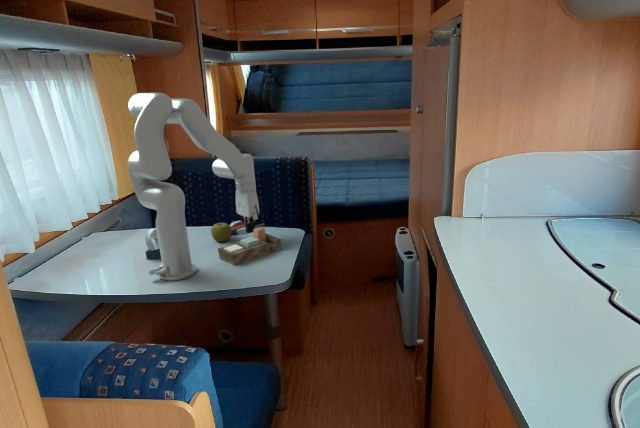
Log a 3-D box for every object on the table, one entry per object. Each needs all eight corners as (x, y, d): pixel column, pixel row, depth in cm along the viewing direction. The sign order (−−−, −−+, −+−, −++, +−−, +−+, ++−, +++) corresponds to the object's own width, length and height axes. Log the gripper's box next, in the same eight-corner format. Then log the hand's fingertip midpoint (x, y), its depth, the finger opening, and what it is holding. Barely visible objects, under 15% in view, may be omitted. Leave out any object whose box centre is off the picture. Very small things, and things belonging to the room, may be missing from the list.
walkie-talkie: (227, 239, 192) (266, 227, 205) (225, 229, 191) (265, 217, 204) (215, 235, 199) (254, 223, 211) (214, 225, 197) (253, 214, 210)
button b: (248, 250, 171) (247, 243, 170) (240, 247, 175) (240, 240, 174) (259, 247, 174) (258, 239, 173) (252, 243, 178) (251, 236, 177)
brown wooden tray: (233, 265, 165) (232, 255, 164) (219, 258, 172) (218, 248, 171) (281, 248, 178) (280, 239, 177) (266, 242, 185) (265, 233, 184)
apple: (213, 238, 194) (211, 222, 192) (233, 237, 194) (231, 220, 192) (211, 245, 186) (209, 228, 184) (231, 243, 187) (229, 226, 185)
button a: (232, 259, 167) (231, 251, 166) (224, 255, 171) (223, 248, 170) (244, 255, 170) (243, 247, 169) (236, 251, 174) (235, 244, 173)
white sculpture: (168, 253, 181) (163, 225, 177) (158, 261, 173) (153, 233, 170) (154, 253, 181) (149, 226, 178) (144, 261, 174) (139, 233, 170)
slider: (258, 243, 179) (257, 231, 178) (254, 241, 181) (253, 229, 180) (265, 241, 181) (264, 228, 180) (261, 239, 183) (260, 227, 182)
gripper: (227, 185, 183) (232, 230, 188) (248, 191, 172) (253, 238, 177) (243, 182, 187) (248, 225, 193) (265, 187, 176) (269, 233, 182)
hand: (250, 231), depth 185 cm, fingers closed
